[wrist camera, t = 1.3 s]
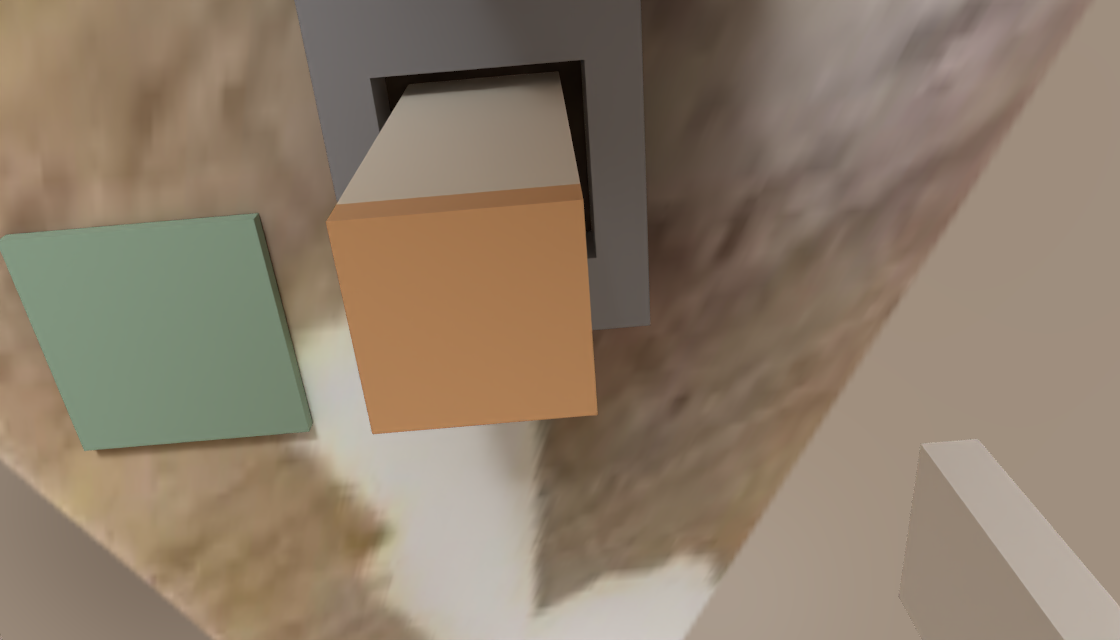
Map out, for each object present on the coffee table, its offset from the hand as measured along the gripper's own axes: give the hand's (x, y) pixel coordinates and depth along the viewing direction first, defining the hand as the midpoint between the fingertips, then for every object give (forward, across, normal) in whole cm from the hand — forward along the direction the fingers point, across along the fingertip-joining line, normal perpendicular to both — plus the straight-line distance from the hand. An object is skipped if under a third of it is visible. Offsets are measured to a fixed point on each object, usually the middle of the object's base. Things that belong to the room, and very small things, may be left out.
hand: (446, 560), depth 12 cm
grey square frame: (+20, 0, 0) cm, 20 cm away
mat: (+20, -13, -6) cm, 24 cm away
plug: (+20, 0, 0) cm, 20 cm away
